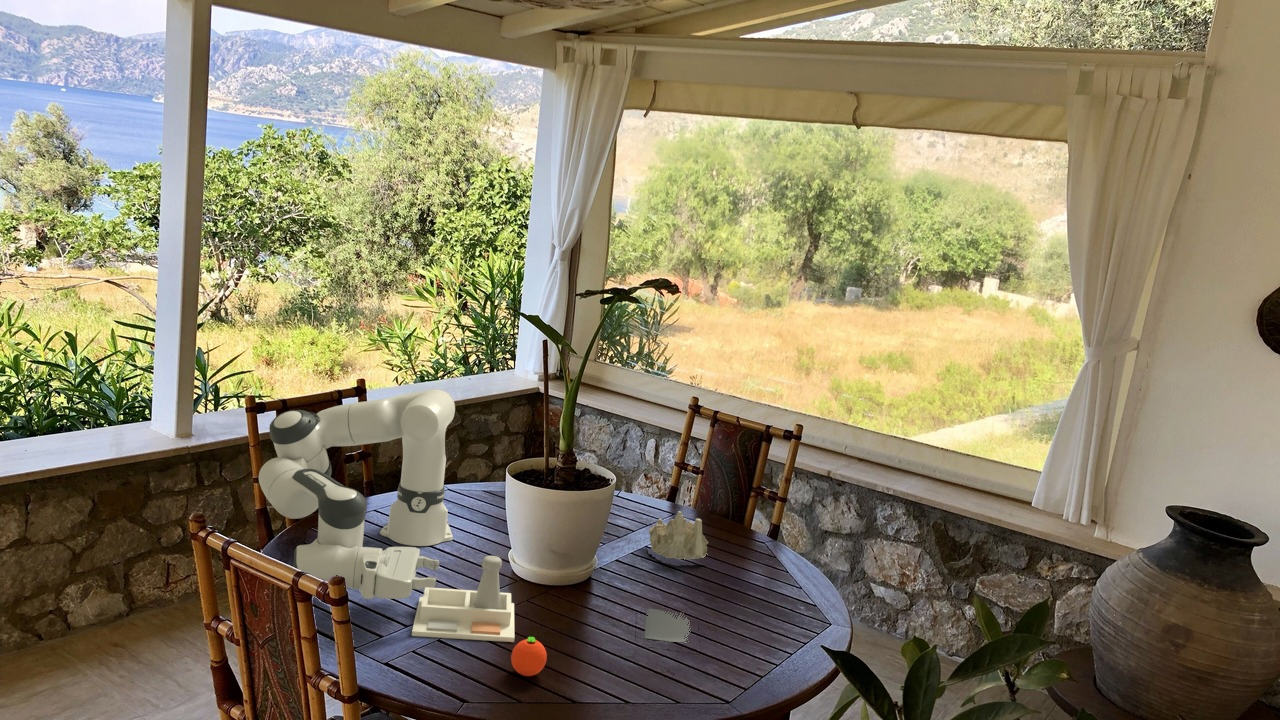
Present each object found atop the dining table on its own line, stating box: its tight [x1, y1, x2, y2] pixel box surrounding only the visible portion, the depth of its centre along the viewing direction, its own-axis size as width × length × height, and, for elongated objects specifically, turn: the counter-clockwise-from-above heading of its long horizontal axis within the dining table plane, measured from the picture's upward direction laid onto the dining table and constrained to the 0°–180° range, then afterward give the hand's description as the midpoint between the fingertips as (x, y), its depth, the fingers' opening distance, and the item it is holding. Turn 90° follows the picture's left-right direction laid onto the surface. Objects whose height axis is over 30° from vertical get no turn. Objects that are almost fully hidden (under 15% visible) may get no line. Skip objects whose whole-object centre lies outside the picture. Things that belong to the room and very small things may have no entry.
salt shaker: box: [474, 555, 503, 610], centre depth 199 cm, size 6×6×13 cm
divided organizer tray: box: [411, 587, 515, 643], centre depth 197 cm, size 17×21×4 cm
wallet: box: [644, 608, 691, 643], centre depth 207 cm, size 20×2×15 cm
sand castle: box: [648, 510, 710, 560], centre depth 254 cm, size 16×16×15 cm
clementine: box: [510, 636, 548, 677], centre depth 179 cm, size 8×7×7 cm
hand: (437, 573), depth 197 cm, fingers open, 8 cm apart
